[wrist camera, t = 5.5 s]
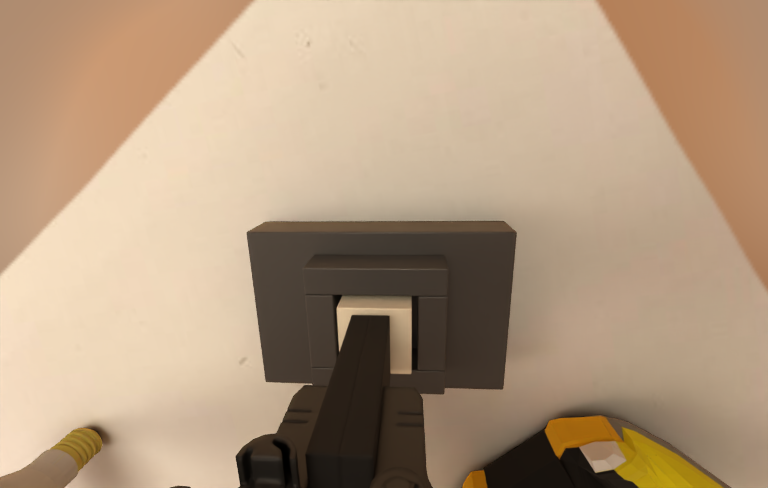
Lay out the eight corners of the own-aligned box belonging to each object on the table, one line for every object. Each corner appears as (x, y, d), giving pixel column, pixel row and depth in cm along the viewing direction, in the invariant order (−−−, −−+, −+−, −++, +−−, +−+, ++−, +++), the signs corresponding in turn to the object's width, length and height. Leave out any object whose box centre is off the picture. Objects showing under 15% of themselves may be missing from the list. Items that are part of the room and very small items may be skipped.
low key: (411, 288, 16) (411, 309, 14) (411, 347, 17) (411, 374, 15) (345, 287, 16) (336, 307, 14) (348, 345, 17) (340, 372, 15)
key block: (504, 220, 17) (530, 243, 14) (493, 363, 20) (513, 417, 16) (264, 221, 18) (226, 242, 14) (280, 357, 21) (250, 407, 17)
